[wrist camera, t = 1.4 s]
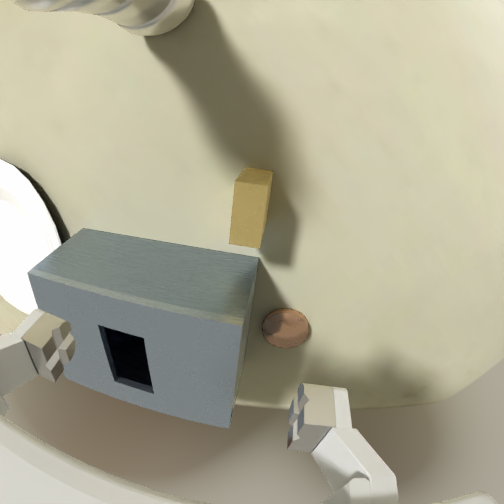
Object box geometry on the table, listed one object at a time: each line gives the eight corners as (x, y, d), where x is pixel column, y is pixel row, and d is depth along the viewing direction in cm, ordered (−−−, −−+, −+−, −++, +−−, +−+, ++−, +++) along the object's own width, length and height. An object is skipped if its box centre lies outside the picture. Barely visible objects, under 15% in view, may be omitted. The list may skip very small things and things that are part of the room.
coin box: (259, 257, 30) (242, 325, 21) (243, 362, 37) (229, 428, 28) (83, 228, 31) (27, 272, 22) (101, 327, 38) (66, 378, 29)
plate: (95, 325, 39) (89, 333, 37) (-3, 297, 41) (-9, 302, 40) (55, 143, 27) (44, 147, 25) (-40, 165, 30) (-48, 168, 28)
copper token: (313, 310, 32) (313, 317, 31) (303, 343, 35) (303, 350, 34) (266, 303, 33) (265, 310, 32) (260, 336, 35) (259, 344, 34)
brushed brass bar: (273, 171, 26) (268, 186, 22) (265, 224, 28) (259, 248, 24) (245, 167, 26) (234, 181, 22) (239, 220, 28) (229, 243, 24)
